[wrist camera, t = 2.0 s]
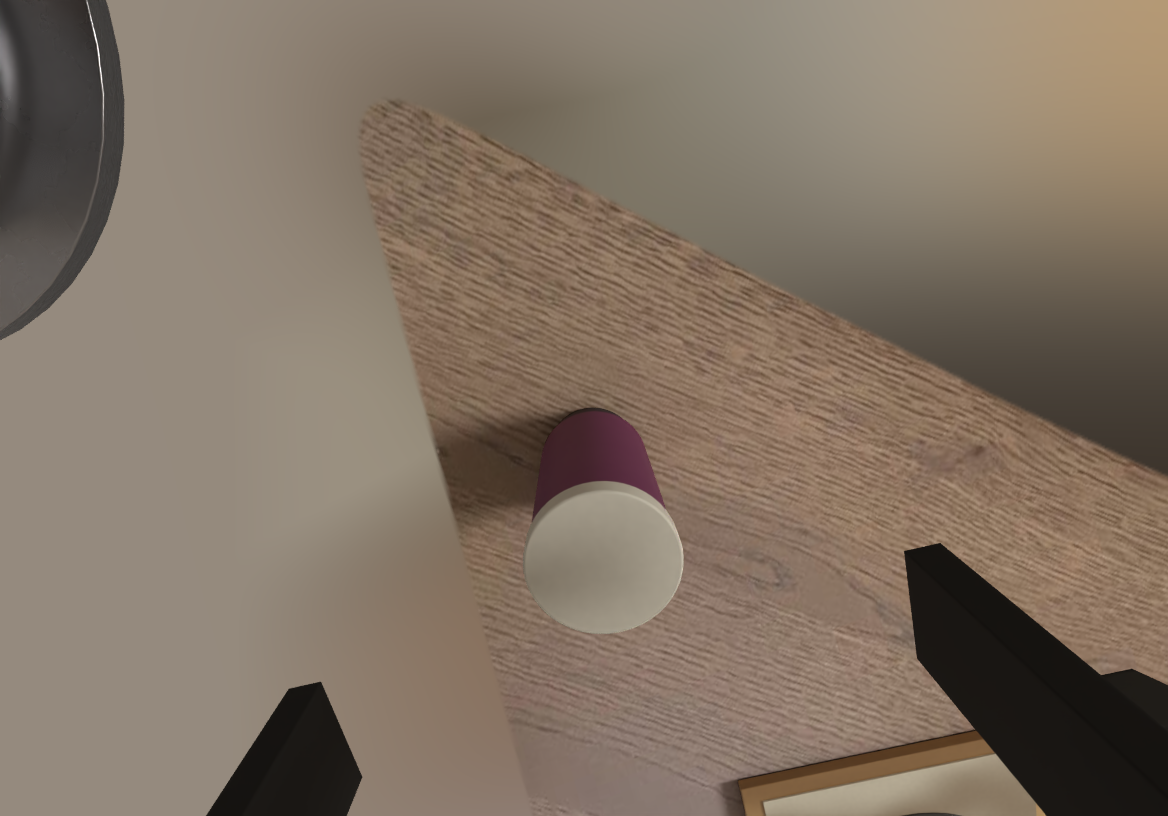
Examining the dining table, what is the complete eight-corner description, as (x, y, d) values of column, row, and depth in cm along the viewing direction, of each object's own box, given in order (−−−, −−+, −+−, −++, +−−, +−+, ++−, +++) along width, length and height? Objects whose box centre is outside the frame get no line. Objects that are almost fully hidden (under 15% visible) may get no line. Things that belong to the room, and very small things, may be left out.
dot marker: (529, 412, 26) (503, 512, 17) (631, 387, 26) (665, 474, 16) (556, 506, 27) (546, 649, 18) (654, 482, 27) (698, 615, 18)
